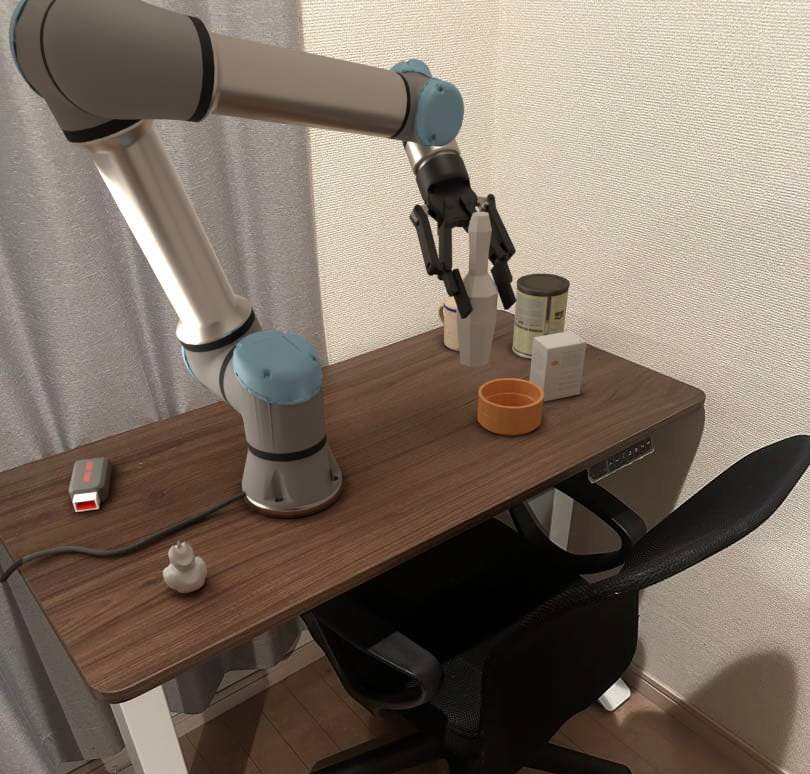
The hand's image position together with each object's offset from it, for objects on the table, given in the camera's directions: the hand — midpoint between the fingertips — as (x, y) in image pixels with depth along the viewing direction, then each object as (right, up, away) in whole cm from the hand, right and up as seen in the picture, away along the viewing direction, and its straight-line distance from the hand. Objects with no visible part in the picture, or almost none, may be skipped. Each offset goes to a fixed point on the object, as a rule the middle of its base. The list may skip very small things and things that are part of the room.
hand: (489, 309), depth 110 cm
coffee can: (+15, +5, +45) cm, 48 cm away
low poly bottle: (-1, -6, +8) cm, 10 cm away
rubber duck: (-41, -40, -12) cm, 58 cm away
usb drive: (-61, -26, +6) cm, 67 cm away
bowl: (+6, -13, +22) cm, 26 cm away
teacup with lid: (-1, +8, +49) cm, 50 cm away
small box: (+15, -6, +30) cm, 34 cm away
